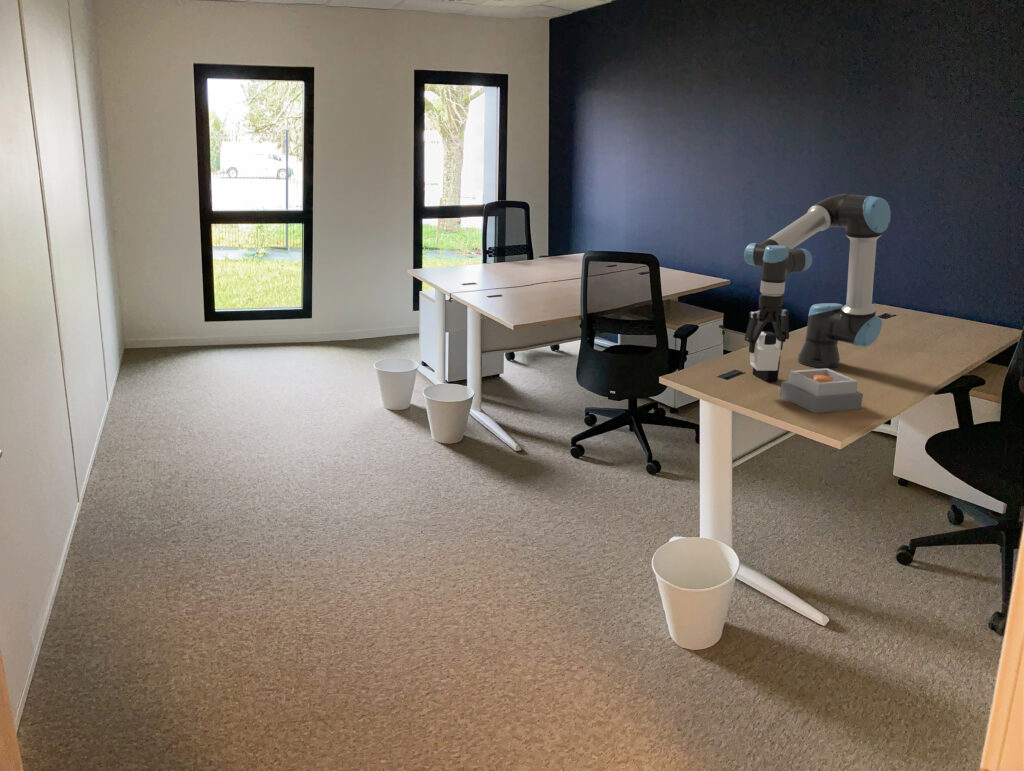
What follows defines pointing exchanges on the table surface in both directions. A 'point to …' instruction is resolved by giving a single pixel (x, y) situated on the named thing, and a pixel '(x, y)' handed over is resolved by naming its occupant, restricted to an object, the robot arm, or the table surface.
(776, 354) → the medicine bottle
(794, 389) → the grey open box
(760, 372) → the electronic device
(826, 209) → the robot arm
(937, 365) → the table surface
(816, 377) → the button
